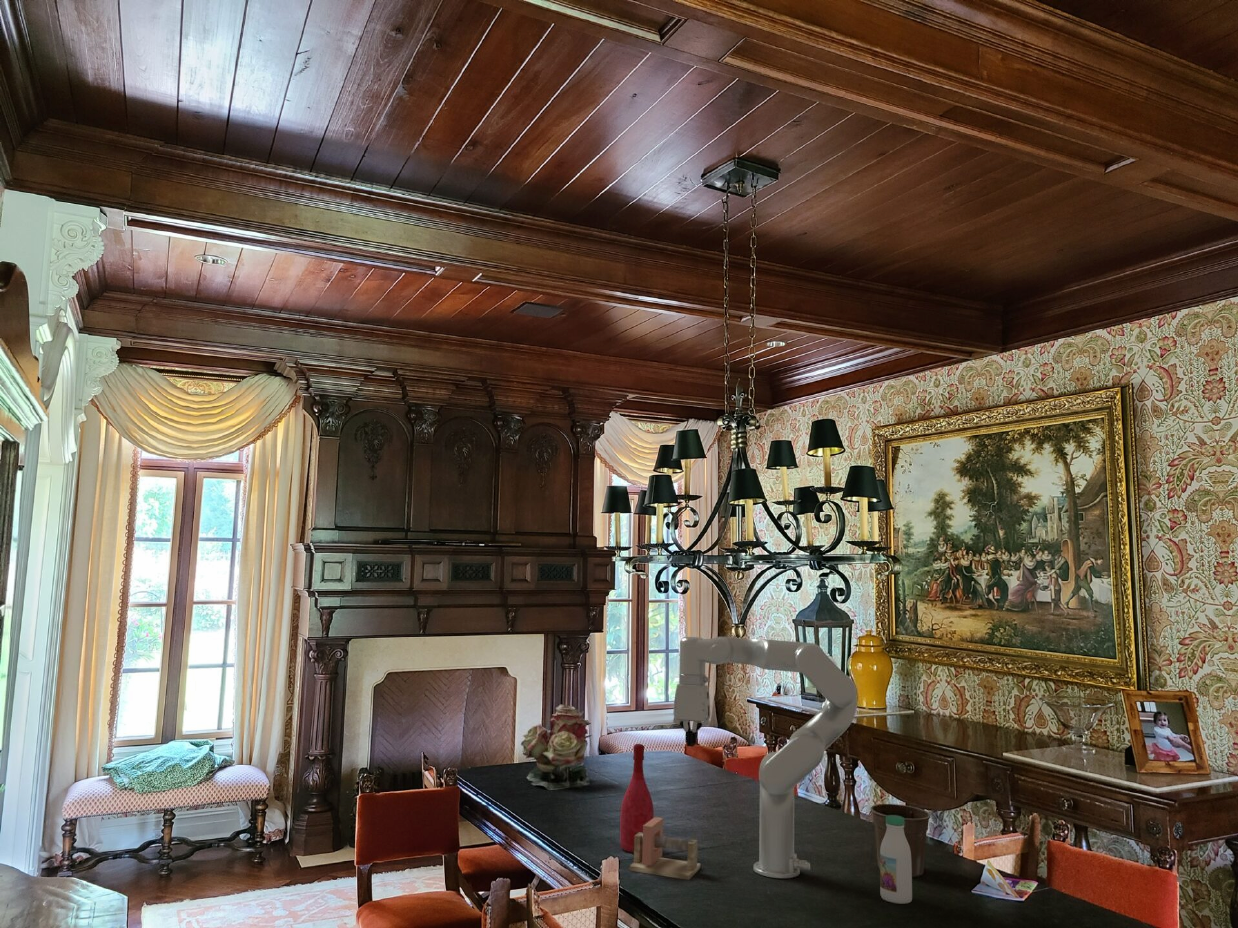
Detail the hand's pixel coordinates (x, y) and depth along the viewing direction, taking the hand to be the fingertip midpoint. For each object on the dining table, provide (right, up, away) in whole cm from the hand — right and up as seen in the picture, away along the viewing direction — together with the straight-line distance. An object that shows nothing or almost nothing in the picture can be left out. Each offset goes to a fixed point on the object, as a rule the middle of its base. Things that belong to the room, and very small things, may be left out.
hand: (691, 745), depth 246 cm
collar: (-11, -29, -9) cm, 32 cm away
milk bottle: (+50, -30, -28) cm, 65 cm away
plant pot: (+59, -34, -5) cm, 68 cm away
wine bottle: (-16, -33, +7) cm, 37 cm away
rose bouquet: (-45, -45, +91) cm, 111 cm away
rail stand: (-8, -31, -10) cm, 33 cm away
